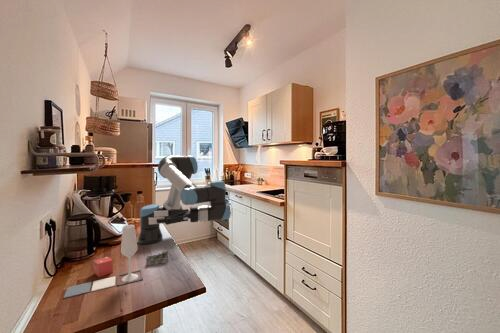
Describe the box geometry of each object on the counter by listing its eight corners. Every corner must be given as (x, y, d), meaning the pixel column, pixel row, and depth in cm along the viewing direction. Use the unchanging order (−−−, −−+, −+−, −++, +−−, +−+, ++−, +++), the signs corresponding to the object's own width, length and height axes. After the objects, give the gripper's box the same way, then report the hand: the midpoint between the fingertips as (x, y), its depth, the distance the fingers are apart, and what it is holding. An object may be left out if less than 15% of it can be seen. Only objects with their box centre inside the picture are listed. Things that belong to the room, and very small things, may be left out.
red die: (108, 268, 112) (108, 255, 112) (112, 272, 108) (112, 258, 108) (94, 273, 107) (93, 259, 107) (98, 277, 104) (97, 263, 103)
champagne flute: (118, 281, 100) (116, 228, 99) (128, 273, 107) (127, 223, 106) (131, 282, 99) (129, 228, 98) (141, 274, 105) (139, 224, 105)
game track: (141, 270, 110) (141, 269, 110) (142, 280, 101) (142, 279, 101) (68, 287, 96) (68, 286, 96) (62, 299, 87) (62, 298, 87)
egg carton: (169, 258, 124) (168, 250, 123) (166, 264, 116) (166, 256, 116) (148, 259, 121) (148, 252, 121) (144, 266, 114) (144, 258, 114)
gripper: (199, 229, 97) (146, 233, 92) (198, 215, 121) (156, 218, 116) (198, 212, 97) (145, 215, 92) (197, 201, 121) (155, 204, 116)
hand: (151, 217), depth 104 cm, fingers open, 13 cm apart
